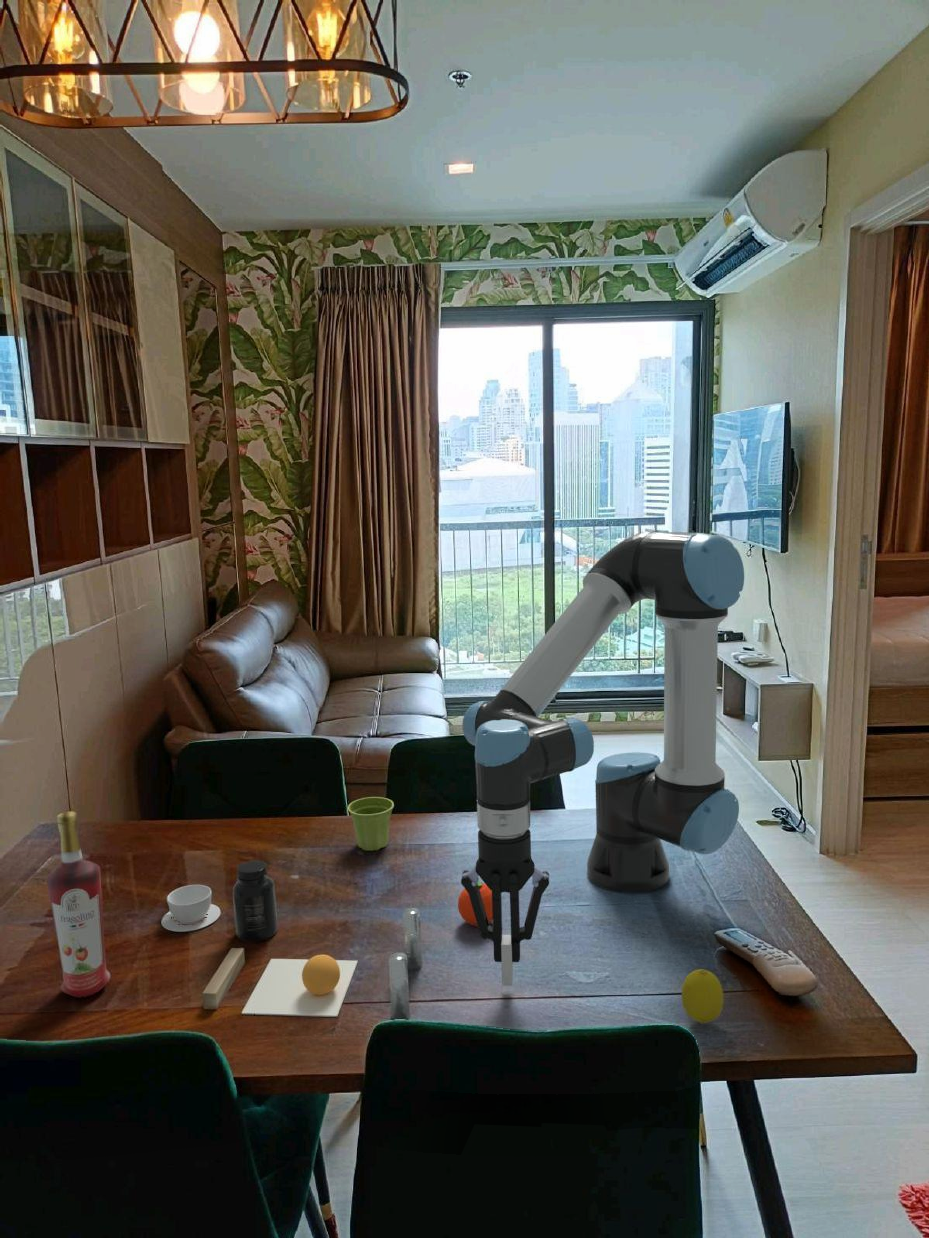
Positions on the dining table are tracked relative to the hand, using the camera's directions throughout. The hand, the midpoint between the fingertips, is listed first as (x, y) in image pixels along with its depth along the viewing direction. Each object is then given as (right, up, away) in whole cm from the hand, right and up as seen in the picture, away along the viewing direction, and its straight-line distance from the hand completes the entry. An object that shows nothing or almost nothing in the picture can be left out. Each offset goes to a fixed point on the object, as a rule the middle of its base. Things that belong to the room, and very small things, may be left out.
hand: (507, 980), depth 128 cm
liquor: (-64, -3, +4) cm, 64 cm away
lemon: (+26, -3, -8) cm, 28 cm away
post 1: (-15, -3, -4) cm, 16 cm away
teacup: (-54, 0, +25) cm, 60 cm away
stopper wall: (-43, -2, +4) cm, 43 cm away
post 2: (-14, -1, +8) cm, 16 cm away
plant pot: (-25, +6, +52) cm, 58 cm away
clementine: (-4, +1, +21) cm, 21 cm away
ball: (-28, 0, +1) cm, 28 cm away
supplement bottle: (-41, 0, +19) cm, 46 cm away
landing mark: (-31, -2, +3) cm, 31 cm away
